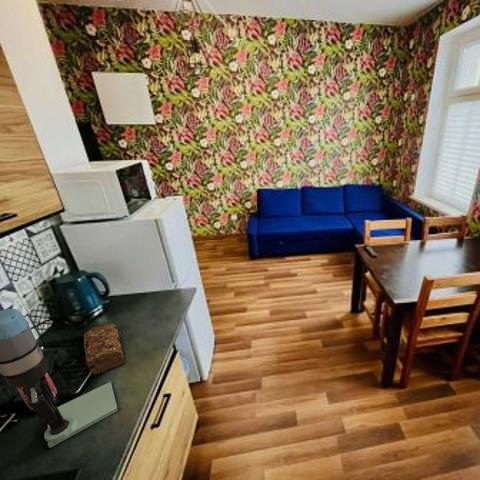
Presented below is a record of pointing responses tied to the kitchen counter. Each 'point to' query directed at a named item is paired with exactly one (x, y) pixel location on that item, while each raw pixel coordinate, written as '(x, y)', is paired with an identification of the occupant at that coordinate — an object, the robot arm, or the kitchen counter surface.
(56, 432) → the button
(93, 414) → the scale
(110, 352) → the bread
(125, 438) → the kitchen counter surface
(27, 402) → the soda can
